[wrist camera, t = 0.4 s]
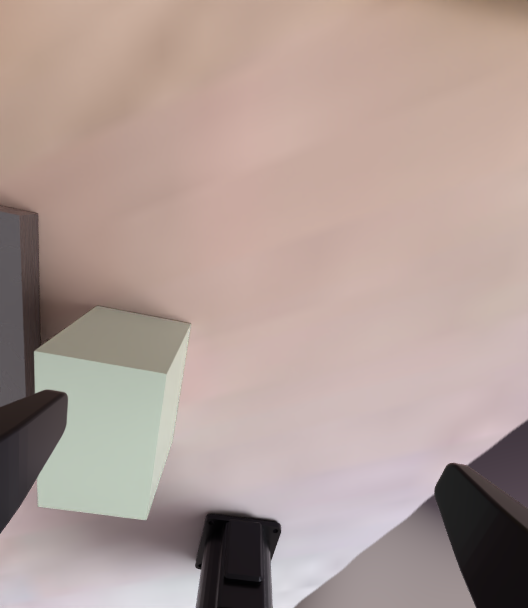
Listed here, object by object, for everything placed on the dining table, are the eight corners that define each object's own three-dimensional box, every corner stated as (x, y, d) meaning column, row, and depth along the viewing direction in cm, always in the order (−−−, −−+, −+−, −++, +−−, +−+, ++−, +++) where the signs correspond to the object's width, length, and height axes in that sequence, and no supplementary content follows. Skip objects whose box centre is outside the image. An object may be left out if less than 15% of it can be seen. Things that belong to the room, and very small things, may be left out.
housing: (172, 441, 24) (146, 520, 18) (91, 429, 23) (37, 506, 17) (191, 323, 20) (166, 374, 15) (97, 305, 20) (34, 351, 14)
